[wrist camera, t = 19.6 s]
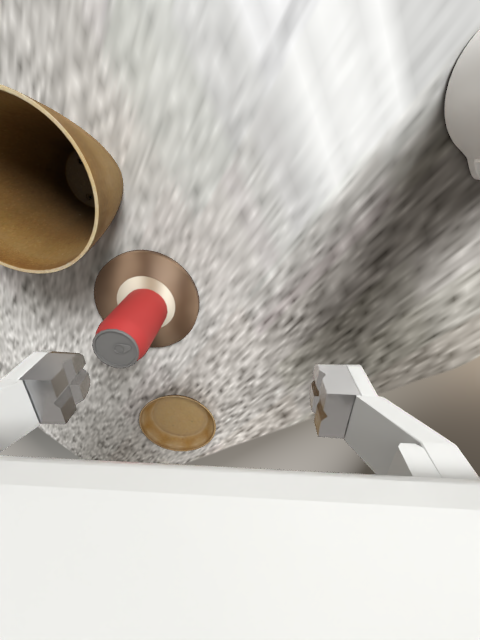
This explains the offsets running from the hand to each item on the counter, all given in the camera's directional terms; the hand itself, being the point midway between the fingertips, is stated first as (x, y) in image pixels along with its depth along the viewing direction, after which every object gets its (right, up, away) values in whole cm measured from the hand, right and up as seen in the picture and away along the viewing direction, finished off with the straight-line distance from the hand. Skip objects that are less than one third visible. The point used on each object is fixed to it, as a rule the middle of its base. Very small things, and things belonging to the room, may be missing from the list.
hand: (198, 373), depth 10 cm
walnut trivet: (-13, +5, +37) cm, 39 cm away
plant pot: (-18, +20, +29) cm, 39 cm away
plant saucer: (-10, -17, +49) cm, 53 cm away
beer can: (-13, +4, +36) cm, 38 cm away
